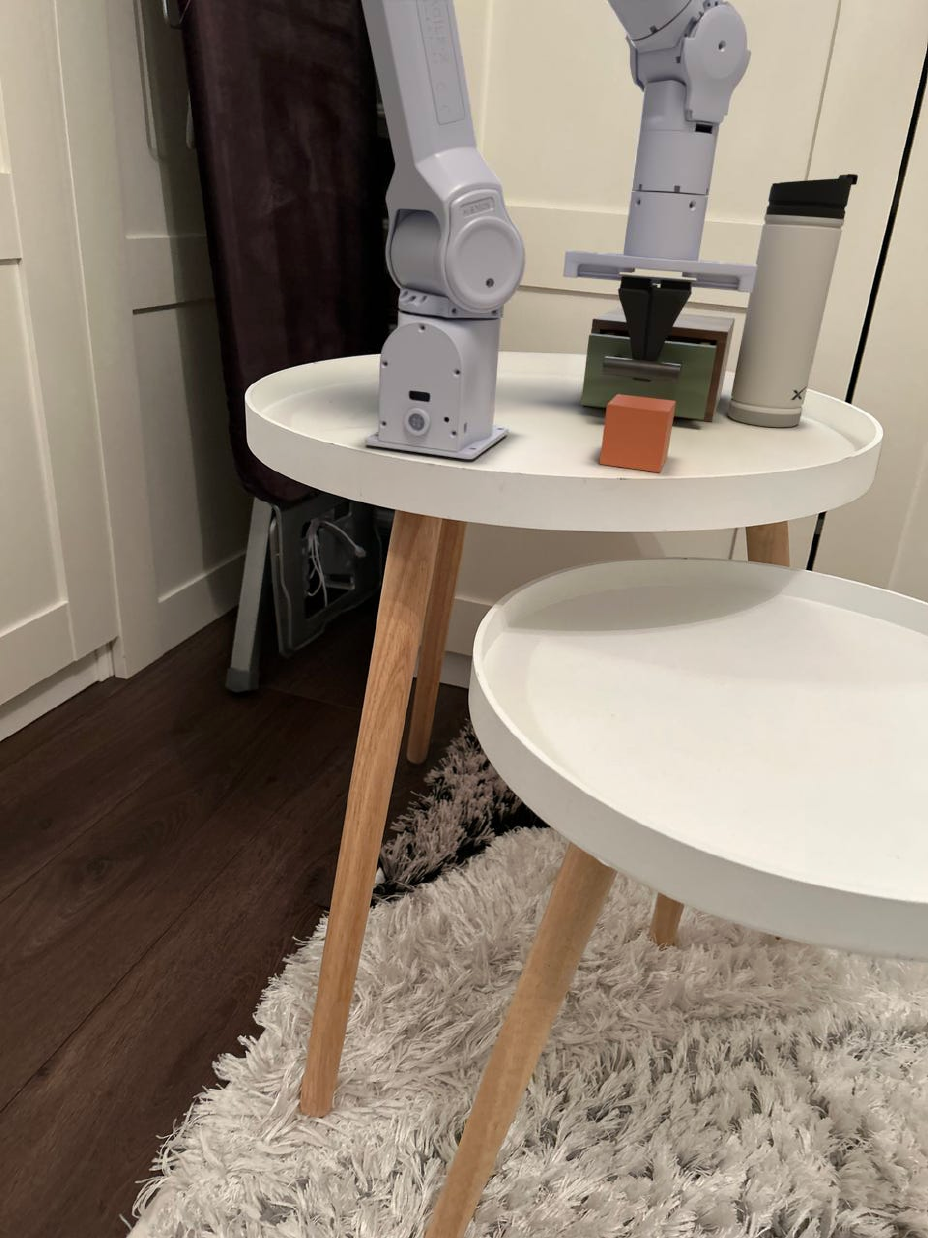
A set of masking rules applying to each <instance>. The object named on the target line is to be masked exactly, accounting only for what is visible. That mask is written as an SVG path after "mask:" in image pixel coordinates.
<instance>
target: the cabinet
mask: <svg viewBox="0 0 928 1238" xmlns="http://www.w3.org/2000/svg"><path fill="white" fill-rule="evenodd" d="M591 321H592V322H591V329H590V334H602V335H604V334H606V333H607V332H609V331H611V330H617V331H627V332H629V331H628V326H627V322H626V318H625V315H624V311H623V308H622V307H616V308H614V309H611V310H609V311H607V312H604V313H603V314H600V315H597V316H596V317H594V318H592V320H591ZM735 322H736V318H734V317H724V316H713V315H703V314H693V313H683V312H680V314H679V316H678V317H677V319H676V321H675V323H674V325H673V327H672V329H671V331H670V333H669V335H668V336H677V337H687V338H697V339H707V340H715V344H714V346H717V348H716V354H715V360H714V366H713V371H712V377H711V383H710V388H709V394H708V400H707V405H706V411H705V417H704V419H703V420H702V419H694V418H686V417H678V416H674V417H673V418H677V419H685V420H693V421H695V420H696V421H700V422H701V421H702V422H710V423H713V421H714V417H715V415H716V412H717V409H718V406H719V403H720V400H721V398H722V394H723V387H724V383H725V377H726V371H727V365H728V359H729V355H730V350H731V349H730V348H731V344H732V338H733V332H734V329H735V328H734V327H735ZM650 326H651V325H650ZM649 334H650V331H649ZM582 407H589V408H596V409H606V410H607V408H605V407H597V406H588V405H582Z"/></svg>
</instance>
